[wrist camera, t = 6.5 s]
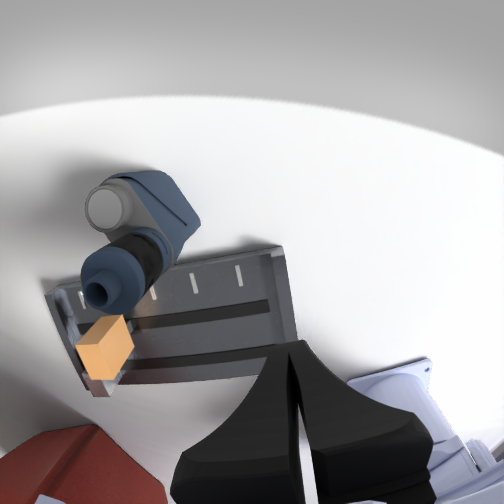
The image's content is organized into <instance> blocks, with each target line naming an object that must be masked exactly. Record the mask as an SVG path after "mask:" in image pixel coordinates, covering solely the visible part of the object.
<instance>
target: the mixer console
mask: <svg viewBox="0 0 504 504" xmlns="http://www.w3.org/2000/svg"><path fill="white" fill-rule="evenodd" d="M145 291H146V290H145ZM44 296H45V299H46V302H47V304H48V307H49V310H50V312H51V315H52V317H53V320H54V322H55V325H56V327H57V329H58V332H59V334H60V336H61V339H62V341H63V343H64V345H65V348H66V350H67V352H68V354H69V356H70V358H71V361H72V363H73V365H74V367H75V369H76V371H77V373H78V375H79V377H80V379H81V381H82V382H83V384H84V386H85V388H86V390H90V391H91V393H92V395H93V397H110V396H111V394H112V393H113V391H114V389H115V388H116V386H117V385H129V384H160V383H178V382H193V381H205V380H215V379H225V378H234V377H243V376H251V375H258V374H260V372H261V370H262V368H263V366H264V363H265V361H266V358H267V356H268V353H269V349H270V347H271V346H272V345H277V344H282V343H288V342H293V341H298V338H297V331H296V324H295V318H294V311H293V304H292V298H291V291H290V285H289V279H288V272H287V266H286V260H285V254H284V251H283V247H282V246H279V247H273V248H267V249H262V250H256V251H250V252H245V253H239V254H233V255H228V256H222V257H216V258H211V259H205V260H199V261H194V262H188V263H182V264H177V265H172V266H171V267H169V269H168V270H167V271H166V272H165V273H164V274H163V275H161V276H160V277H159V278H158V279H157V281H156V282H155V283H154V284H153V285H152V287H151V288H150V289H149V290H148V291H147V293H146V294H145V295H144V296H143V297H142V299H141V300H140V301H139V302H138V304H137V305H136V306H135V307H134V308H133V309H132V310H131V311H130V312H128V313H126V314H122V315H123V318H124V320H125V321H127V320H130V322H131V325H132V328H133V331H132V332H131V334H130V336H131V339H132V342H133V344H134V348H133V350H132V351H131V353H130V354H129V356H128V358H127V359H126V361H125V362H124V364H123V366H122V367H121V369H120V370H119V372H118V374H117V375H116V377H115V379H114V380H91V378H90V376H89V374H88V372H87V370H86V368H85V366H84V364H83V362H82V360H81V357H80V355H79V353H78V351H77V349H76V346H75V345H76V344H77V342H78V341H79V340H80V339H81V338H82V337H83V336H84V335H85V334H86V333H87V332H88V330H89V329H90V328H91V327H92V326H93V325H94V324H95V323H96V322H97V321H98V320H99V319H100V318H101V317H104V316H112V315H110V314H107V313H104V312H102V311H100V310H97V309H94V308H93V307H91V306H90V305H89V304H88V303H87V302H86V300H85V298H84V295H83V288H82V284H81V282H75V283H69V284H64V285H58V286H57V287H55V288H54V289H52V290H51V291H49V292H48V293H47V294H45V295H44Z"/></svg>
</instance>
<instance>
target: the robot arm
mask: <svg viewBox="0 0 504 504" xmlns="http://www.w3.org/2000/svg"><path fill="white" fill-rule="evenodd" d="M427 367H428V368H427ZM426 368H427V369H426ZM431 369H432V361H431V360H430V359H429V358H428V359H424V360H421V361H418V362H415V363H412V364H408V365H405V366H401V367H398V368H394V369H391V370H387V371H383V372H380V373H376V374H372V375H368V376H364V377H360V378H355V379H351V380H349V381H348V382H347V383H344V382H343V381H342V380H341V379H339V378H338V377H337V376H336V375H335V374H333V373H332V372H331V371H330V370H329V369H328V368H327V367H326V366H325V365H324V364H323V363H322V362H321V361H320V360H319V359H318V358H317V356H316V355H315V354H314V353H313V351H312V350H311V349H310V347H309V346H308V344H307V342H306V341H304V340H298V341H293V342H288V343H282V344H277V345H272V346H271V347H270V349H269V353H268V356H267V358H266V361H265V363H264V366H263V368H262V370H261V372H260V374H259V376H258V378H257V380H256V381H255V383H254V385H253V386H252V388H251V390H250V391H249V393H248V394H247V396H246V397H245V399H244V400H243V401H242V403H241V404H240V405H239V407H238V408H237V409H236V410H235V411H234V412H233V413H232V414H231V416H230V417H229V418H228V419H227V420H226V421H225V422H224V423H223V424H222V425H221V426H219V427H218V428H217V429H216V430H215V431H213V432H212V433H211V434H210V435H208V436H207V437H206V438H204V439H203V440H201V441H200V442H198V443H197V444H195V445H194V446H192V447H190V448H189V449H187V450H185V451H184V452H182V454H181V456H180V459H179V461H178V463H177V466H176V468H175V472H174V475H173V479H172V483H171V487H170V495H171V497H172V498H173V500H174V501H175V502H176V504H306V502H305V494H304V486H303V478H302V470H301V462H300V454H299V420H298V405H299V408H300V412H301V416H302V419H303V423H304V427H305V430H306V434H307V438H308V441H309V445H310V450H311V456H312V463H313V469H314V476H315V482H316V489H317V496H318V503H319V504H504V459H503V460H501V461H500V462H498V463H497V462H496V461H495V459H494V458H493V456H492V454H491V453H490V451H489V450H488V448H487V447H486V445H485V444H484V443H483V442H482V440H474V439H470V440H468V441H467V442H466V445H467V447H468V449H469V450H470V452H471V453H470V454H471V456H472V457H473V459H474V461H475V463H476V464H477V465H475V463H474V462H473V460H472V458H471V457H470V455H469V453H468V451H467V450H466V448H465V447H464V445H463V443H462V442H461V440H460V438H459V437H458V435H456V434H455V432H454V431H453V429H452V427H451V426H450V424H449V423H448V421H447V419H446V418H445V416H444V415H443V413H442V411H441V410H440V408H439V407H438V405H437V404H436V402H435V400H434V399H433V397H432V396H431V394H430V393H429V391H428V387H429V382H430V376H431ZM353 388H354V389H353ZM35 504H65V503H64V502H62V501H59V500H56V499H53V498H50V497H48V496H45V495H39V497H38V499H37V500H36V502H35Z"/></svg>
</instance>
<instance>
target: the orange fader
mask: <svg viewBox="0 0 504 504" xmlns="http://www.w3.org/2000/svg"><path fill="white" fill-rule="evenodd" d="M132 331H133V328H132V325H131V322H130V320H127V321H125V320H124V318H123V315H112V316H104V317H101V318H100V319H99V320H98V321H97V322H96V323H95V324H94V325H93V326H92V327H91V328H90V329H89V330H88V332H87V333H86V334H85V335H84V336H83V337H82V338H81V339H80V340H79V341H78V342H77V344H76V345H75V346H76V349H77V351H78V353H79V355H80V357H81V360H82V362H83V364H84V366H85V368H86V370H87V372H88V374H89V376H90V378H91V380H114V379H115V377H116V375H117V374H118V372H119V370H120V369H121V367H122V366H123V364H124V362H125V361H126V359H127V358H128V356H129V354H130V353H131V351H132V350H133V348H134V344H133V342H132V339H131V336H130V334H131V332H132Z"/></svg>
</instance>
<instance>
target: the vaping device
mask: <svg viewBox="0 0 504 504" xmlns="http://www.w3.org/2000/svg"><path fill="white" fill-rule="evenodd" d="M85 213H86V217H87V220H88V222H89V223H90V225H91V226H92V227H93V228H94V229H96V230H97V231H100V232H104V233H105V235H106V236H107V238H108V239H109V241H110V242H111V243H109V244H108V245H106V246H104V247H103V248H101V249H99V250H97V251H96V252H94V253H92V254H91V255H90V256H89V257H88V258H87V259H86V260H85V262H84V263H83V266H82V269H81V284H82V288H83V295H84V298H85V300H86V302H87V303H88V304H89V305H90V306H91V307H93V308H94V309H97V310H100V311H102V312H104V313H107V314H110V315H122V314H126V313H128V312H130V311H131V310H132V309H133V308H134V307H135V306H136V305H137V304H138V302H139V301H140V300H141V299H142V297H143V296H144V295H145V294H146V293H147V291H148V290H149V289H150V288H151V287H152V285H153V284H154V283H155V282H156V281H157V279H158V278H159V277H160V276H161V275H163V274H164V273H165V272H166V271H167V270H168V269H169V267H171V266H172V265H173V264H175V263H176V259H177V257H178V256H179V254H180V252H181V250H182V248H183V245H184V243H185V241H186V240H187V239H188V238H189V237H190V236H191V235H192V234H193V233H194V232H195V231H196V230H197V229H198V228H199V227H200V226H201V223H200V219H199V217H198V216H197V214H196V213H195V211H194V210H193V208H192V207H191V205H190V204H189V203H188V201H187V200H186V198H185V197H184V195H183V194H182V192H181V191H180V189H179V188H178V187H177V185H176V184H175V182H174V181H173V179H172V178H171V177H170V176H168V175H167V174H166V173H164V172H162V171H142V172H130V173H119V174H116V175H113V176H111V177H109V178H108V179H106V180H105V181H104V182H103V183H102V184H101V185H100V186H99V187H97V188H95V189H93V190H92V191H91V192H90V194H89V195H88V197H87V199H86V203H85ZM145 290H146V291H145Z"/></svg>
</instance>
